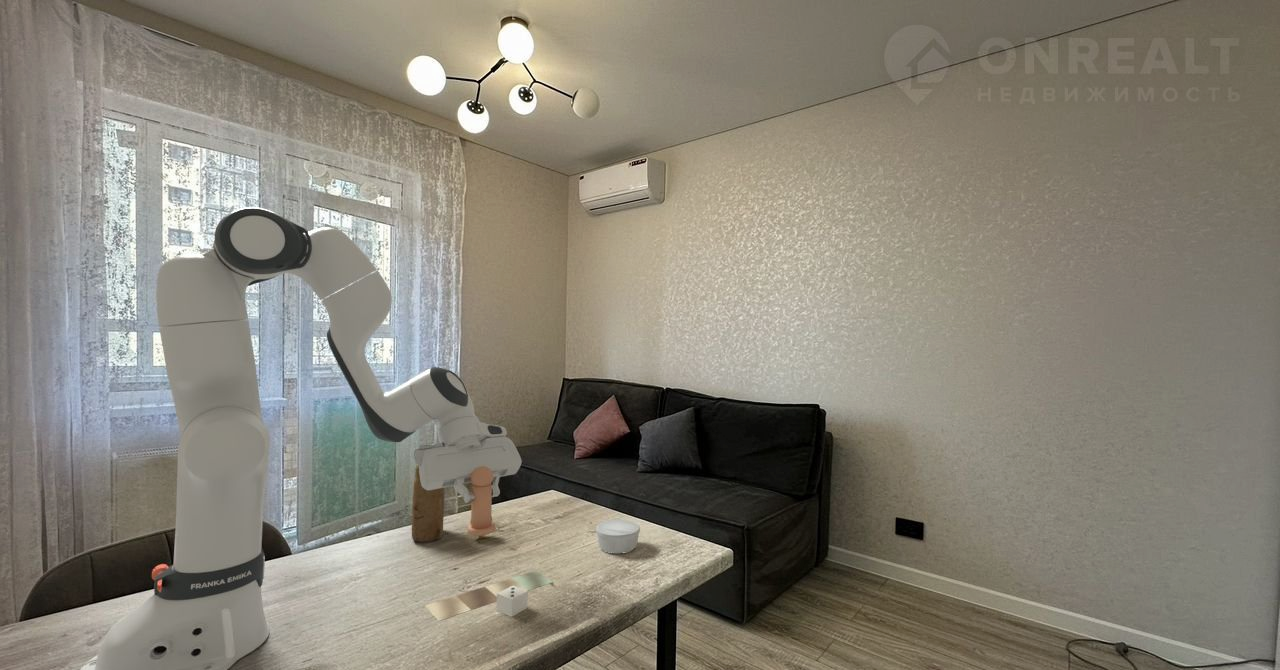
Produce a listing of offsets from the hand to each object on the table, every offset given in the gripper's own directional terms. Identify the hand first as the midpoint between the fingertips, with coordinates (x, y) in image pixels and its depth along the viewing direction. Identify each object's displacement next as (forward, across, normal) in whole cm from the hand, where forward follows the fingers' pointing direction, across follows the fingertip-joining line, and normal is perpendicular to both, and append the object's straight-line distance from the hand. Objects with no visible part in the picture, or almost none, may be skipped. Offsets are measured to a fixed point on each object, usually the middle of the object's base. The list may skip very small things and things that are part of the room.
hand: (483, 498), depth 99 cm
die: (+20, +2, +9) cm, 22 cm away
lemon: (-8, +14, +37) cm, 41 cm away
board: (+14, +2, +15) cm, 21 cm away
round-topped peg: (+4, 0, +5) cm, 7 cm away
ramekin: (+12, +38, +19) cm, 44 cm away
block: (-15, +4, +44) cm, 47 cm away
